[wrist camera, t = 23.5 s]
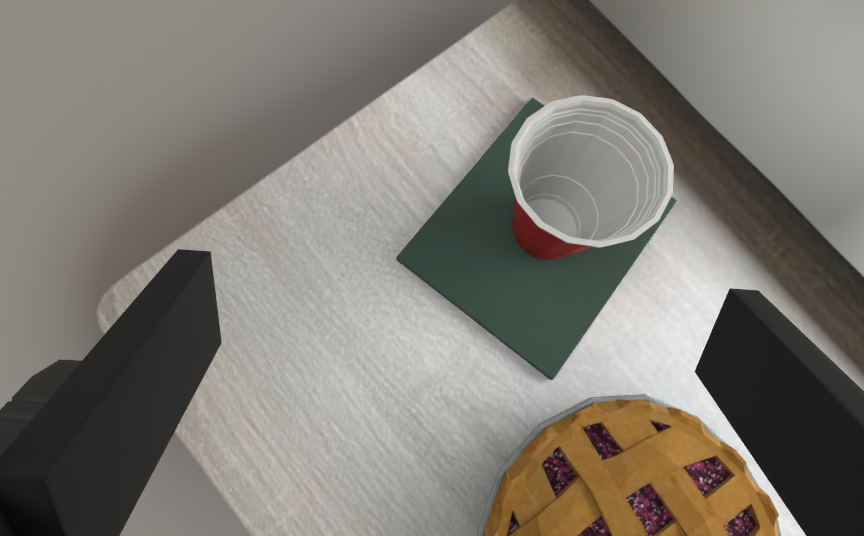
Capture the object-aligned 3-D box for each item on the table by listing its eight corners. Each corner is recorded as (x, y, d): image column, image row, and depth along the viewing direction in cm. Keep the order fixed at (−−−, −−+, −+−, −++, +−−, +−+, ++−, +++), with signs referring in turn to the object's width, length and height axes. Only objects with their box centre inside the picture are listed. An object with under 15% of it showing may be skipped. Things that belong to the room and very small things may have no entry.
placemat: (396, 259, 45) (396, 257, 44) (530, 101, 50) (532, 97, 50) (550, 380, 43) (552, 379, 43) (673, 202, 49) (677, 200, 48)
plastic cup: (475, 171, 47) (504, 90, 36) (595, 170, 48) (660, 92, 37) (484, 291, 44) (518, 246, 33) (611, 288, 45) (687, 243, 34)
